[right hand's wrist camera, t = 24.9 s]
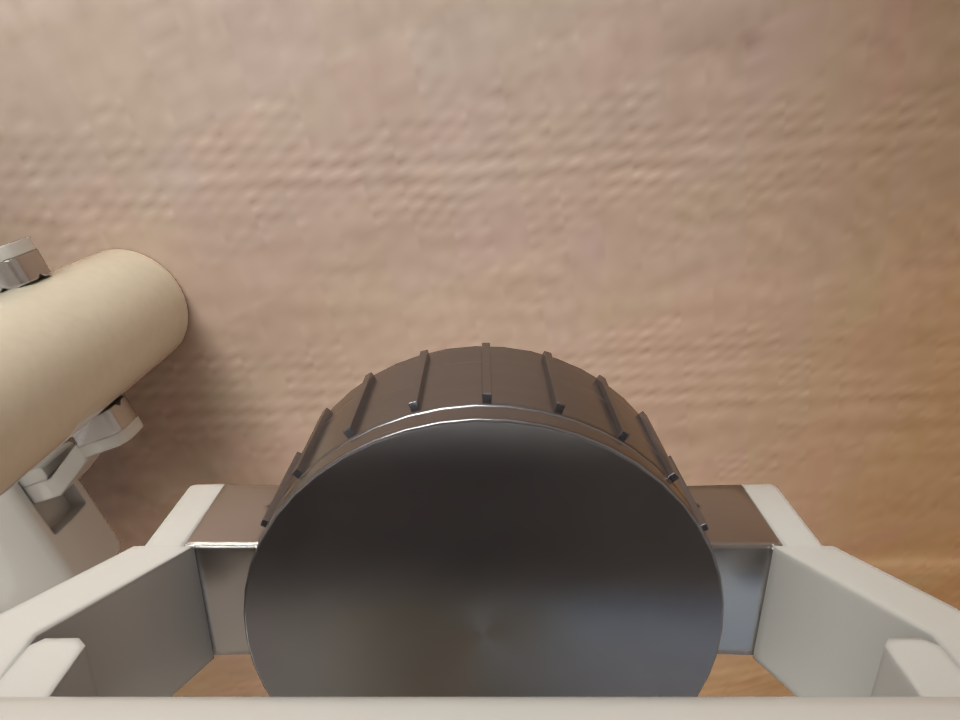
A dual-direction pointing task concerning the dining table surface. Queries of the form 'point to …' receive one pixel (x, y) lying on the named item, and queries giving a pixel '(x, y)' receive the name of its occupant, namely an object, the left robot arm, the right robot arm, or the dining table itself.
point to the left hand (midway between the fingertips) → (81, 340)
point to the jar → (79, 349)
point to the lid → (483, 543)
